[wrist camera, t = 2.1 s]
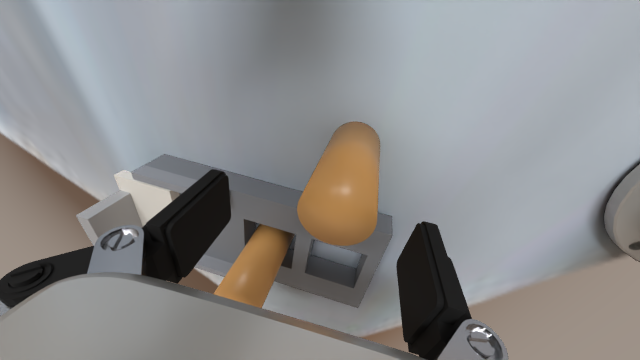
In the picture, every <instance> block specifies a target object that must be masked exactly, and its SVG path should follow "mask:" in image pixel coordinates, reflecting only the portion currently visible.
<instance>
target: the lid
mask: <svg viewBox="0 0 640 360" xmlns="http://www.w3.org/2000/svg"><path fill="white" fill-rule="evenodd" d="M114 177H115V179H116V182H117V184H118V187H119V189H120V190H119V191H117V192H116V193H114V194H112V195H110V196H109V197H107V198H105V199H104V200H102V201H100V202H98V203H97V204H95V205H93V206H92V207H90V208H88V209H86V210H85V211H83V212H81V213H80V214H78V215H76V216H77V218H78V220H79V221H80V223H81V225H82V227H83V228H84V230H85V232H86V234H87V236H88V237H89V239H90V241H91V242H92V244H93V246H94V245H95V243H96V241H97V239H98V238H99V237H100V236H101V235H102V234H104V233H105V232H107V231H109V230H111V229H113V228H116V227H119V226H123V225H136V226H139V227H141V228H142V227H143V226H144V225H146V223H147V222H148V221H149V220H150V219H151V218H153V217H154V216H155V215H156V214H157V213H159V212H160V211H161V210H162V209H164V208H165V207H166V206H167V205H168V204H170V203H171V202H172V201H173V200H175V199H176V198H177V197H178V196H179V193H178V192H175V191H172V190H168V189H165V188H161V187H158V186H154V185H151V184H148V183H144V182H141V181H137V180H134V179H133V177H132V174H131V172H128V171H125V170H123V171H121V172H119V173H117V174H115V175H114Z"/></svg>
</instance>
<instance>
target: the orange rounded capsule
mask: <svg viewBox="0 0 640 360" xmlns="http://www.w3.org/2000/svg"><path fill="white" fill-rule="evenodd" d="M293 237H294V234H293V233H290V232H286V231H283V230H280V229H276V228H273V227H270V226H266V225H263V224H259V226H258V227H257V229H256V230H255V232H254V233H253V235H252V236H251V238H250V239H249V241H248V243H247V244H246V246H245V247H244V249H243V250H242V252H241V253H240V255H239V256H238V258H237V259H236V261H235V262H234V264H233V265H232V267H231V268H230V270H229V271H228V273H227V274H226V276H225V277H224V279H223V280H222V282H221V284H220V285H219V287H218V288H217V290H216V291H215V293H214V295H218V296H221V297H224V298H228V299H231V300H235V301H238V302H242V303H245V304H249V305H252V306H255V307H259V308H262V306H263V304H264V302H265V299H266V297H267V295H268V293H269V290H270V288H271V286H272V284H273V282H274V279H275V277H276V275H277V273H278V270H279V268H280V266H281V264H282V261H283V259H284V257H285V255H286V253H287V250H288V248H289V246H290V244H291V241H292V239H293Z"/></svg>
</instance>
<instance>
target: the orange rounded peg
mask: <svg viewBox="0 0 640 360" xmlns="http://www.w3.org/2000/svg"><path fill="white" fill-rule="evenodd" d="M379 162H380V140H379V137H378V135H377V133H376V132H375V130H374V129H373V128H371V127H370V126H369V125H367V124H365V123H361V122H349V123H346V124H344V125H342V126H340V127H339V128H338V129H337V130H336V131H335V132H334V134H333V136H332V138H331V140H330V142H329V144H328V145H327V147H326V149H325V151H324V153H323V155H322V157H321V159H320V161H319V163H318V164H317V166H316V168H315V170H314V172H313V174H312V176H311V178H310V180H309V182H308V184H307V185H306V187H305V189H304V191H303V193H302V195H301V197H300V199H299V201H298V205H297V213H298V217H299V220H300V222H301V224H302V225H303V227H304V228H305V229H306V230H307V231H308V232H309V233H310V234H311V235H312V236H314V237H315V238H317V239H319V240H320V241H323V242H325V243H328V244H332V245H338V246H349V245H354V244H358V243H360V242H362V241H364V240H366V239H367V238H368V237H369V236H370V235H371V234H372V233H373V232H374V230H375V228H376V224H377V210H378V186H379Z"/></svg>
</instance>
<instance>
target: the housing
mask: <svg viewBox="0 0 640 360" xmlns="http://www.w3.org/2000/svg"><path fill="white" fill-rule="evenodd" d="M211 169H216V170H220V171H224V170H221V169H217V168H213V167H210V166H206V165H202V164H199V163H195V162H191V161H188V160H184V159H181V158H177V157H173V156H170V155H166V154H164V155H162V156H160V157H158V158H156V159H155V160H153V161H151V162H149V163H147V164H145V165H143V166H141V167H140V168H138V169H136V170H134V171H132V172H131V174H132V177H133V179H134V180H137V181H141V182H144V183H148V184H151V185H154V186H158V187H161V188H165V189H168V190H172V191H175V192H178V193H179V195H181V194H182V193H183V192H184V191H185V190H187V189H188V188H189V187H190V186H192V185H193V184H194V183H195V182H196V181H198V180H199V179H200V178H201V177H203V176H204V175H205V174H206V173H207V172H209V171H210V170H211ZM224 172H225V173H226V175H227V176H228V178H229V192H230V205H231V219H230V221H229V223H228V224H227V225H226V227H225V228H224V229H223V231H222V232H221V233H220V234H219V236H218V237H217V238H216V240H215V241H214V242H213V243H212V245H211V246H210V247H209V249H208V250H207V251H206V252H205V254H204V255H203V256H202V258H201V259H200V260H199V261H198V263H197V264H196V265H195V268H198V269H201V270H205V271H208V272H211V273H214V274H217V275H220V276H223V277H225V276H226V274H227V273H228V271H229V270H230V268H231V267H232V265H233V264H234V262H235V261H236V259H237V258H238V256H239V255H240V253H241V252H242V250H243V249H244V247H245V246H246V244H247V243H248V241H249V239H250V238H251V236H252V235H253V233H254V232H255V222H256V223H259V224H263V225H266V226H270V227H273V228H276V229H280V230H283V231H286V232H290V233H293V234H296V241H295V248H294V250H292V249H289V248H288V250H287V253H286V255H285V257H284V259H283V261H282V264H281V266H280V268H279V270H278V273H277V275H276V277H275V279H274V281H276V282H279V283H282V284H285V285H288V286H291V287H294V288H297V289H300V290H304V291H307V292H310V293H313V294H316V295H319V296H322V297H325V298H328V299H331V300H335V301H338V302H341V303H344V304H347V305H350V306H353V307H356V308H358V307H359V305H360V302H361V300H362V298H363V296H364V294H365V292H366V290H367V288H368V286H369V284H370V282H371V279H372V277H373V275H374V273H375V271H376V269H377V267H378V265H379V263H380V261H381V259H382V256H383V254H384V252H385V250H386V248H387V246H388V244H389V242H390V240H391V238H392V235H393V234H392V216H389V215H385V214H381V213H378V212H377V224H376V228H375V230H374V232H373V233H372V234H371V235H370V236H369V237H368V238H367V239H366V240H364V241H362V242H360V243H358V244H354V245H349V246H338V245H334V246H337V247H341V248H344V249H347V250H351V251H354V252H357V253H361V254H362V256H361V258H360V261H359V263H358V266H357V268H356V269H354V268H351V267H348V266H345V265H341V264H338V263H335V262H331V261H328V260H325V259H322V258H318V257H315V256H312V255H311V251H312V246H313V241H314V240H317V241H320V240H319V239H317V238H315V237H314V236H312V235H311V234H310V233H309V232H308V231H307V230H306V229H305V228H304V227H303V225H302V224H301V222H300V220H299V217H298V213H297V205H298V201H299V199H300V197H301V195H302V193H303V192H301V191H297V190H294V189H290V188H286V187H283V186H279V185H275V184H272V183H268V182H264V181H261V180H257V179H254V178H250V177H246V176H243V175H239V174H235V173H232V172H228V171H224ZM320 242H323V241H320ZM324 243H325V242H324ZM327 244H328V243H327ZM330 245H332V244H330Z"/></svg>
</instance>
